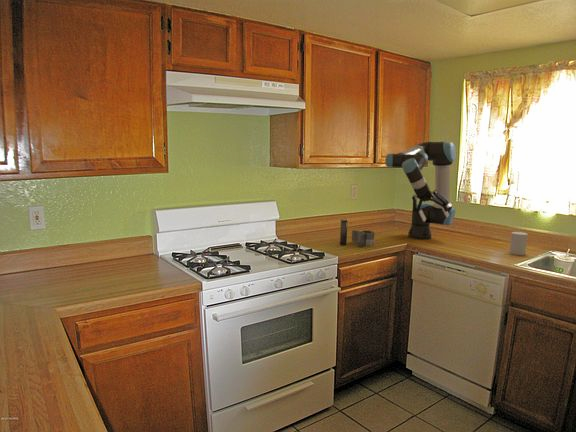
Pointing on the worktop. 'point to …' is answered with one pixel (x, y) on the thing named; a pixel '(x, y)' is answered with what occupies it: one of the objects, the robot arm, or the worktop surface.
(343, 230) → the hinge pin
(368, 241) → the hinge
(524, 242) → the cup
